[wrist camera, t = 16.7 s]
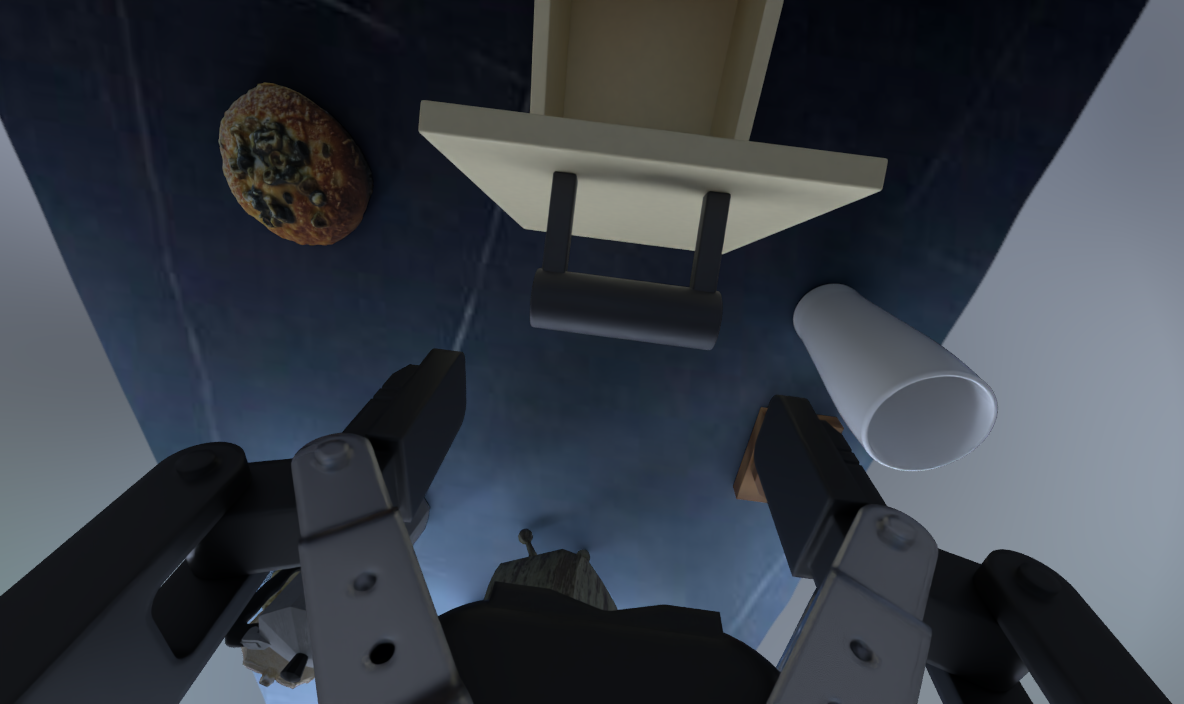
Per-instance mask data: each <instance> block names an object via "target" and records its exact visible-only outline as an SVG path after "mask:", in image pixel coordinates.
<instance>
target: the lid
mask: <svg viewBox="0 0 1184 704" xmlns="http://www.w3.org/2000/svg"><path fill="white" fill-rule="evenodd" d="M419 132H420V133H421V134H422V135H423V136H424V137H425V138H426V139H427V140H428V141H429V142H430V143H431V144H433V145H434V146H435V147H436V148H437V149H438V150H439V151H440V152H441V153H442V154H443V155H445V156H446V157H447V158H448V159H449V160H450V161H451V162H452V163H453V164H454V165H455V166H456V167H458V168H459V169H460V170H461V171H462V172H463V173H464V174H465V175H466V176H467V177H468V178H469V179H471V180H472V181H473V182H474V183H475V184H476V185H477V186H478V187H479V188H480V189H481V190H483V191H484V192H485V193H486V194H487V195H488V196H489V197H490V198H491V199H492V200H493V201H494V202H496V203H497V204H498V205H499V206H500V207H501V208H502V209H503V210H504V211H505V212H506V213H507V214H509V215H510V216H511V217H512V218H513V219H514V220H515V221H516V222H517V223H518V224H519V225H520V226H522V227H523V228H524V229H530V230H537V231H545V232H546V239H545V248H544V257H543V265H542V268H539V269H538V270H537V271H536V274H535V277H534V281H533V286H532V292H531V300H530V323H531V326H532V327H536V328H544V329H551V330H559V331H566V332H574V333H582V334H589V335H597V336H605V337H612V338H620V339H628V340H635V341H643V342H651V343H658V344H666V345H673V346H681V347H689V348H696V349H704V350H711V349H712V348H713V346H714V345H715V343H716V340H717V338H718V334H719V331H720V326H721V320H722V308H723V306H722V297H721V294H720V292H718V291H716V288H717V282H718V276H719V269H720V263H721V257H722V254H724V253H727V252H729V251H732V250H734V249H737V248H739V247H742V246H744V245H747V244H749V243H752V242H754V241H757V240H759V239H762V238H764V237H767V236H769V235H772V234H774V233H777V232H779V231H782V230H784V229H787V228H789V227H792V226H794V225H797V224H799V223H802V222H804V221H807V220H809V219H812V218H814V217H817V216H819V215H822V214H824V213H827V212H829V211H832V210H834V209H837V208H839V207H842V206H844V205H847V204H849V203H852V202H854V201H857V200H859V199H862V198H864V197H867V196H869V195H872V194H874V193H877V192H879V191H881V190H882V188H883V184H884V178H885V173H886V168H887V163H888V160H887V159H886V158H879V157H871V156H863V155H855V154H847V153H839V152H831V151H823V150H815V149H807V148H799V147H791V146H783V145H776V144H768V143H760V142H752V141H744V140H736V139H728V138H720V137H712V136H704V135H696V134H688V133H680V132H672V131H665V130H657V129H649V128H641V127H633V126H625V125H617V124H609V123H601V122H593V121H585V120H577V119H569V118H561V117H554V116H546V115H538V114H530V113H522V112H514V111H506V110H498V109H490V108H482V107H474V106H466V105H458V104H451V103H443V102H435V101H427V100H422V101H421V106H420V118H419ZM571 235H576V236H584V237H592V238H600V239H607V240H615V241H623V242H631V243H638V244H646V245H654V246H662V247H670V248H677V249H685V250H693V251H695V254H694V260H693V267H692V273H691V280H690V287H681V286H673V285H666V284H658V283H650V282H643V281H635V280H627V279H619V278H612V277H604V276H596V275H589V274H581V273H573V272H567V268H568V260H569V252H570V243H571Z"/></svg>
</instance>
